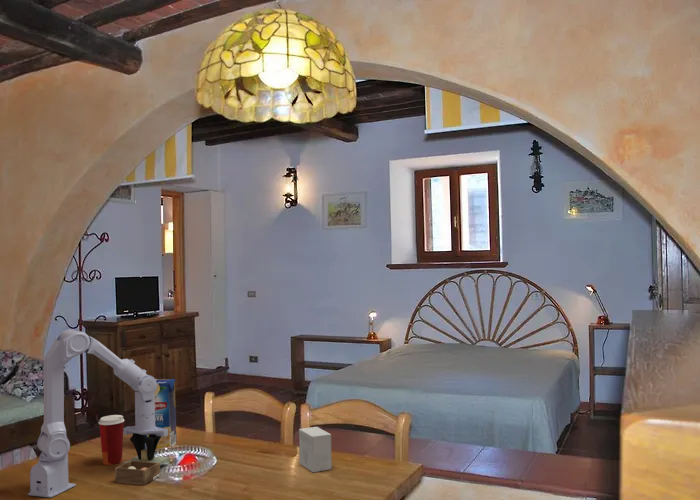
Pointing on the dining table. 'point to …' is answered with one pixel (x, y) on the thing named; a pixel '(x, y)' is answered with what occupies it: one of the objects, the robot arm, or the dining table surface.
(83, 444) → the dining table surface
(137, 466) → the box
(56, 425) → the robot arm
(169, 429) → the beverage box
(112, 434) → the paper cup
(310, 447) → the skincare box
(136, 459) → the lid
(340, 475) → the dining table surface
